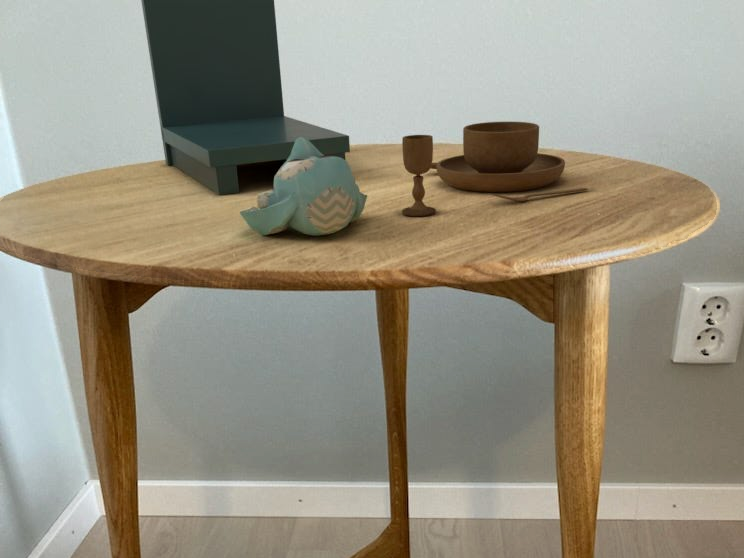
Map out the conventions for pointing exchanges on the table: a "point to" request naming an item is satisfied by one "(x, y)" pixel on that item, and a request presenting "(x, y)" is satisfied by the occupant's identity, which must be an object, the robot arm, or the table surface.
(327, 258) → the table surface
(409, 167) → the place setting
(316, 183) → the stuffed animal
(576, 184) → the table surface
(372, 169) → the table surface
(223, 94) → the teal chair-shaped stand
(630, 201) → the table surface
